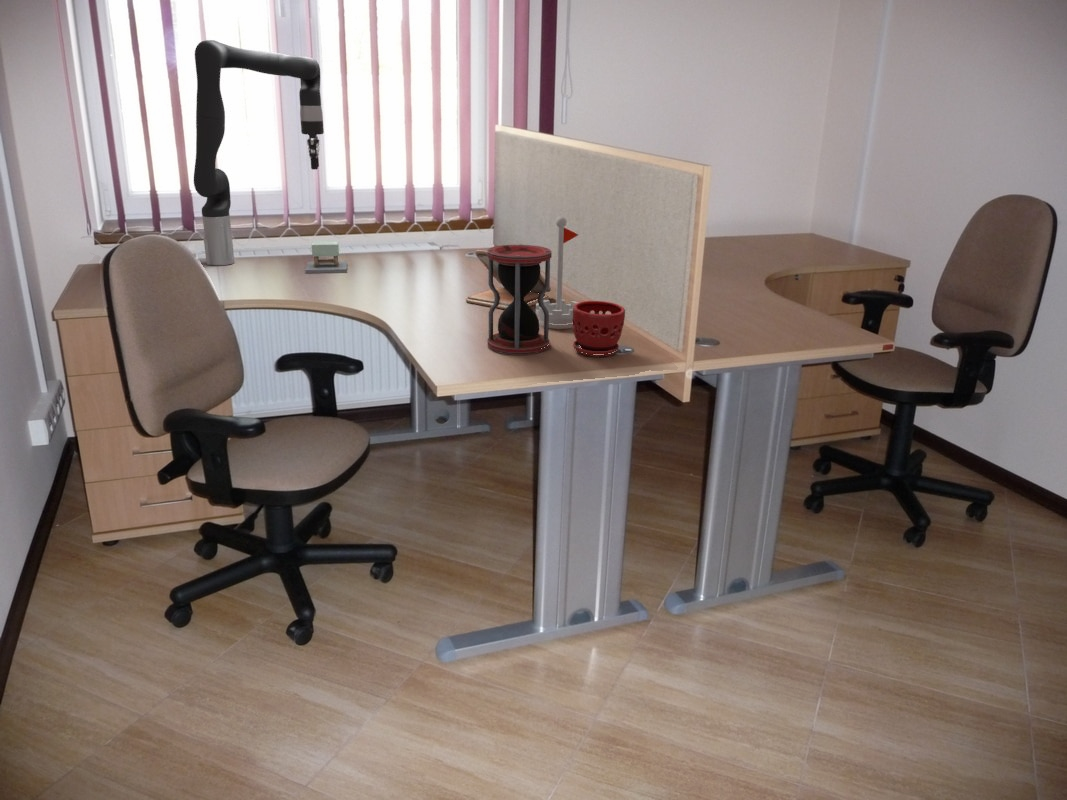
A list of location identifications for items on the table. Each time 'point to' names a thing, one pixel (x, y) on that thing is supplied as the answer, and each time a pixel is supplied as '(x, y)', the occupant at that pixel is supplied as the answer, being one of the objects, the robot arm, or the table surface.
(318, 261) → the mint green toy brick
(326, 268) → the mat
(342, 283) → the table surface
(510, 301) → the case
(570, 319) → the flag stand
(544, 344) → the hourglass
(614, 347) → the plant pot
